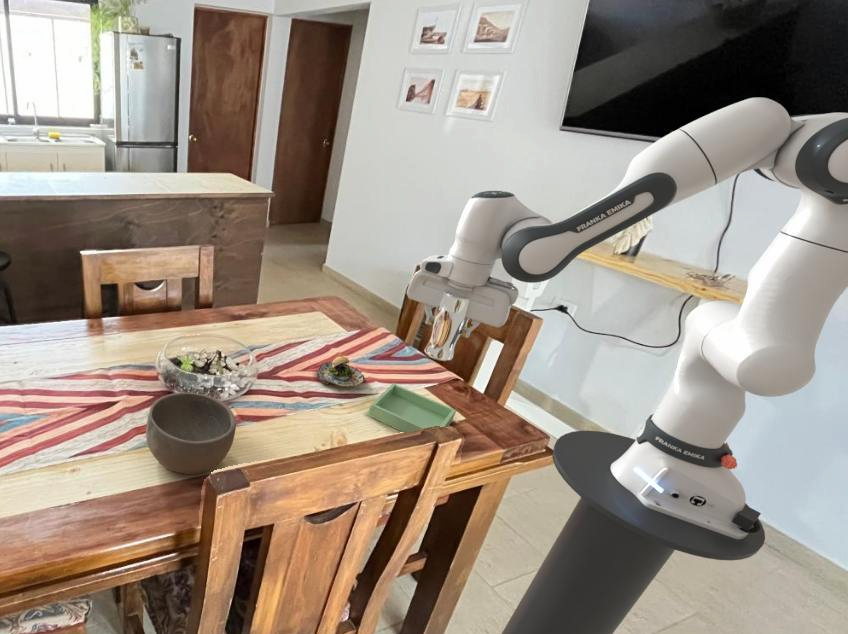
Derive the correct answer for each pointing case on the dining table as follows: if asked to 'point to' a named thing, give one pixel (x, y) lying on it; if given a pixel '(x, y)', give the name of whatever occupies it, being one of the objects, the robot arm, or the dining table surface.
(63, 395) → the dining table surface
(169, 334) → the dining table surface
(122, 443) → the dining table surface
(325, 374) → the burger
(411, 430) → the serving tray
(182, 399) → the bowl
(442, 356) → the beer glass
